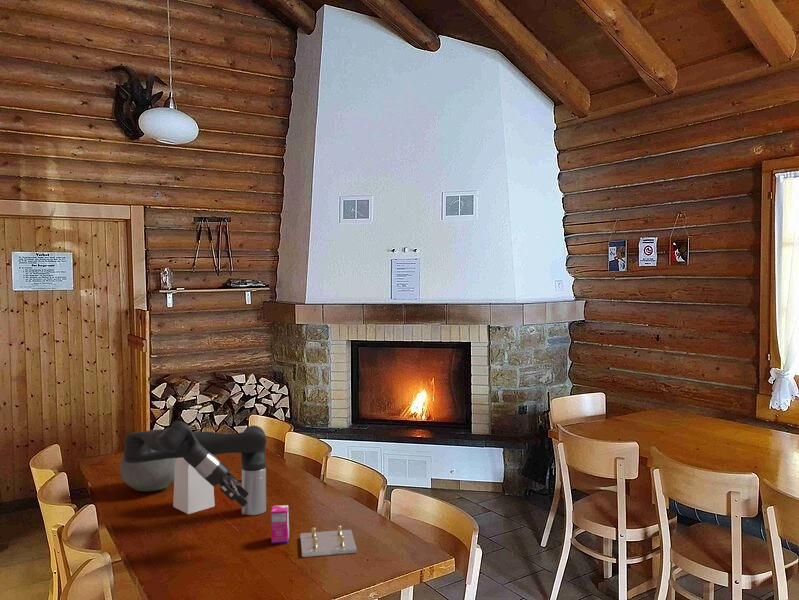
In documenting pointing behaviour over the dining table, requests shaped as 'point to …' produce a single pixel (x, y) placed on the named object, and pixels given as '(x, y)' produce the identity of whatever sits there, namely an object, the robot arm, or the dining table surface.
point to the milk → (191, 489)
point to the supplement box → (279, 524)
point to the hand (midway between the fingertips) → (246, 500)
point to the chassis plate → (327, 542)
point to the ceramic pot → (148, 473)
